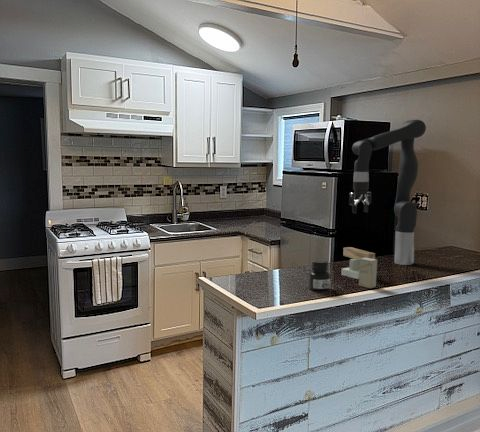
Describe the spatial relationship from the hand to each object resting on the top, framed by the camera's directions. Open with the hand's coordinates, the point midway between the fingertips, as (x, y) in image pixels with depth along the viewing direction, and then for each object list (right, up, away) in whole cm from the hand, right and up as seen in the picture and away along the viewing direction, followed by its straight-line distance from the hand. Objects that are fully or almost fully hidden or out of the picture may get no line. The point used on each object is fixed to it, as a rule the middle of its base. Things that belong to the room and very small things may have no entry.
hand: (360, 212), depth 234 cm
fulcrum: (-5, -30, -15) cm, 34 cm away
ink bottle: (-27, -33, -38) cm, 57 cm away
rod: (-5, -22, -15) cm, 27 cm away
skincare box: (-6, -32, -34) cm, 47 cm away
